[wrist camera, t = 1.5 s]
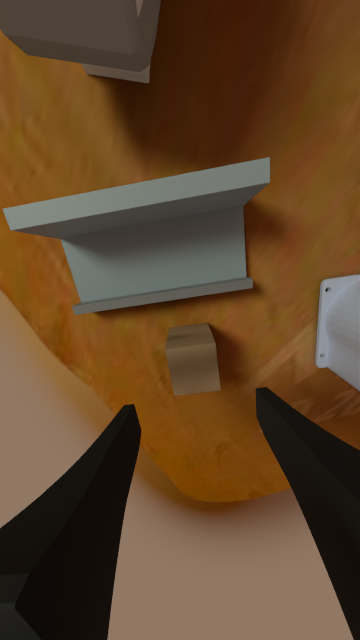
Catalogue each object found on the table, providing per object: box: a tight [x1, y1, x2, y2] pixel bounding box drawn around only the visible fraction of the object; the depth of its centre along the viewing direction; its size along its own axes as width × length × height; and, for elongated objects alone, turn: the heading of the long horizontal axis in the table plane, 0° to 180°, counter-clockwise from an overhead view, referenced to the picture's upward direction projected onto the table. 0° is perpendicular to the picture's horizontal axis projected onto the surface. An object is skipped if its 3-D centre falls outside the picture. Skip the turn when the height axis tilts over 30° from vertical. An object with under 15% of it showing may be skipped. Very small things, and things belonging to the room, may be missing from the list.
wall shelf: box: [3, 157, 270, 315], centre depth 15 cm, size 8×16×6 cm, turn 99°
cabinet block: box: [165, 323, 221, 396], centre depth 18 cm, size 5×4×5 cm
